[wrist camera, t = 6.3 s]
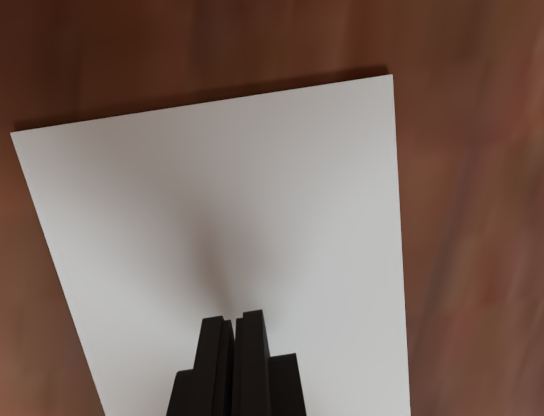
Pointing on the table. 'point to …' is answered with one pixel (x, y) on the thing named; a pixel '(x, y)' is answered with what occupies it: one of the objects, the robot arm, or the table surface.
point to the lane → (232, 240)
